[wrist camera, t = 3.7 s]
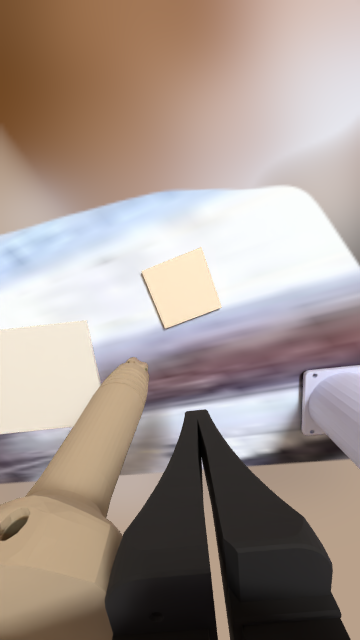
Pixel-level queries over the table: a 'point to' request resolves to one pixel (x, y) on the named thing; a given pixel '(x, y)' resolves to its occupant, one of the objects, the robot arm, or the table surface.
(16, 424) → the felt mat
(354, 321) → the table surface
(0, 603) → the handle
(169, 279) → the beige tile
